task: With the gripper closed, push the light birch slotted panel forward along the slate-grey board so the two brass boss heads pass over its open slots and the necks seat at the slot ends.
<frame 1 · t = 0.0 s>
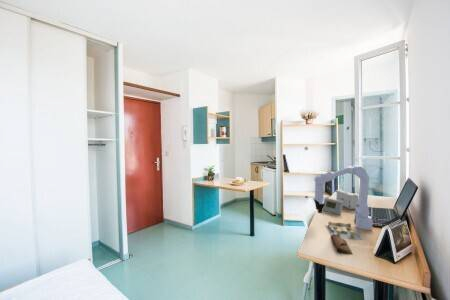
hand: (318, 211, 159), 10 cm above the table, fingers open, 7 cm apart
panel: (341, 229, 149), point 1 cm above the table, touching keyhole board
sunglasses case: (341, 247, 128), on the table
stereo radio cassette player: (346, 206, 204), on the table
keyhole board: (342, 233, 146), on the table
digital clock: (332, 212, 188), on the table
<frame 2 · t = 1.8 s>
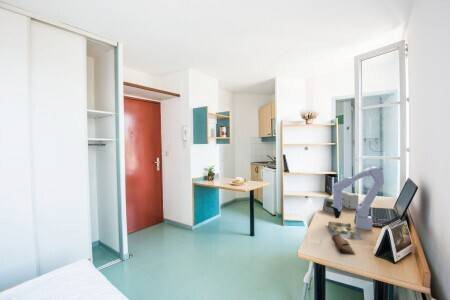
hand: (336, 218, 160), 5 cm above the table, fingers closed
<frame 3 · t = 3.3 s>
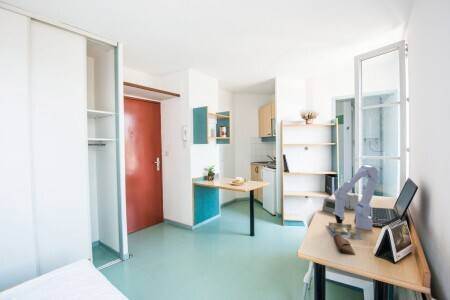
hand: (339, 226, 154), 1 cm above the table, fingers closed
panel: (341, 230, 148), point 1 cm above the table, touching gripper
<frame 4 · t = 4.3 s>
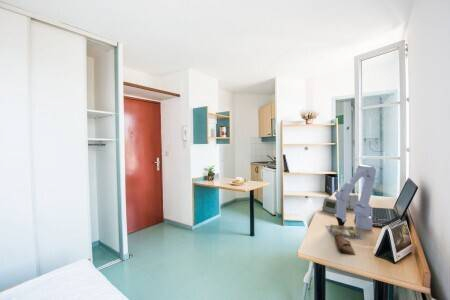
hand: (340, 228, 150), 1 cm above the table, fingers closed
panel: (343, 233, 144), point 1 cm above the table, touching gripper, keyhole board
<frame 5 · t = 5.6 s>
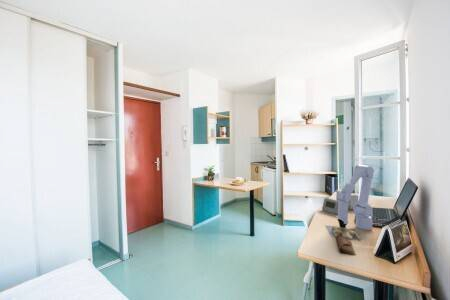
hand: (342, 230, 147), 1 cm above the table, fingers closed
panel: (345, 235, 140), point 1 cm above the table, touching gripper, keyhole board
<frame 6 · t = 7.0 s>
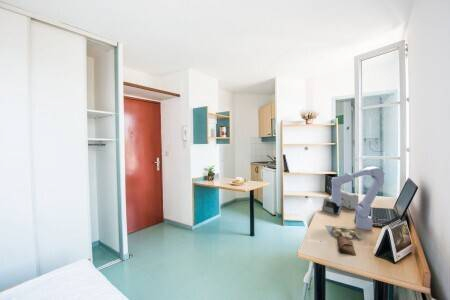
hand: (335, 213, 157), 9 cm above the table, fingers closed
panel: (345, 235, 140), point 1 cm above the table, touching keyhole board
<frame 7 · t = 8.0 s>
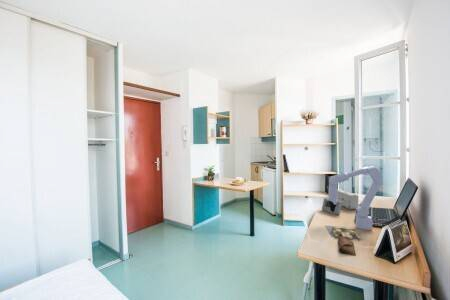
hand: (332, 211, 161), 9 cm above the table, fingers closed
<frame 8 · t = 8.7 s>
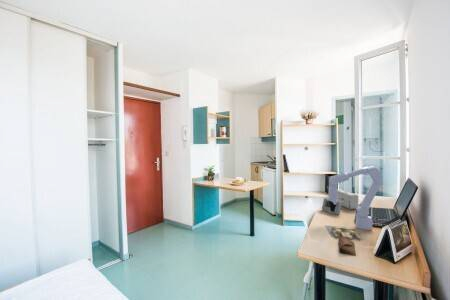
hand: (332, 211, 161), 9 cm above the table, fingers closed
at the end: panel 0.2 cm from the target spot, point 0.8 cm above the table; panel tilted 0° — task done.
